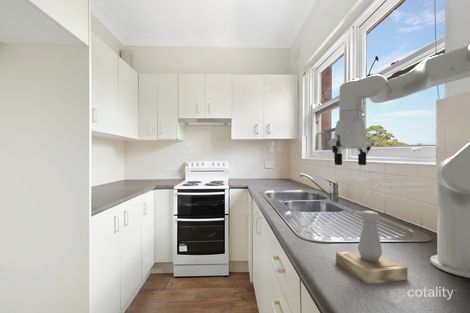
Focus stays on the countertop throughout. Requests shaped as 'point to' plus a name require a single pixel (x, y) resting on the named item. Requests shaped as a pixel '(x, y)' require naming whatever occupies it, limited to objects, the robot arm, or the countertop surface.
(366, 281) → the base board
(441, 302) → the countertop surface
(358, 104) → the robot arm
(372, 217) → the salt shaker
